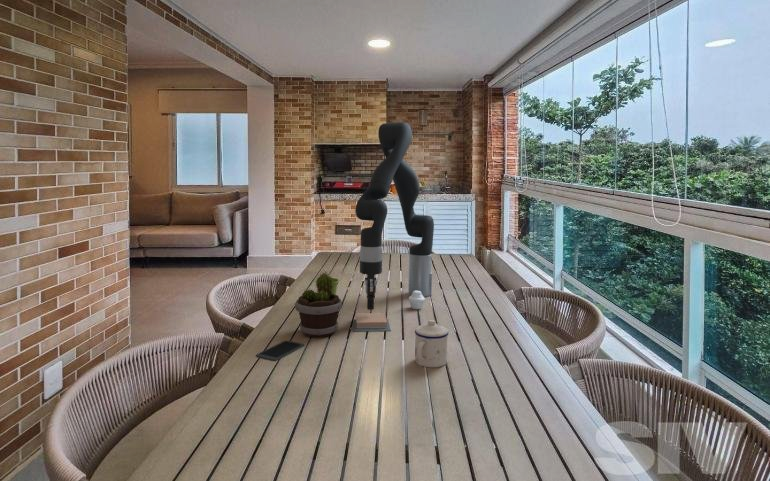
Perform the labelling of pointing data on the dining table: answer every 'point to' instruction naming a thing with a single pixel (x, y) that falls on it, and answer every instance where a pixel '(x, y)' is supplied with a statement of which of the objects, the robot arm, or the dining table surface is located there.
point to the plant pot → (333, 285)
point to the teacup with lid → (431, 345)
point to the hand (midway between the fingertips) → (370, 309)
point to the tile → (371, 320)
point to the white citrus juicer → (416, 300)
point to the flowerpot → (319, 309)
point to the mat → (370, 328)
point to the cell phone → (280, 350)
